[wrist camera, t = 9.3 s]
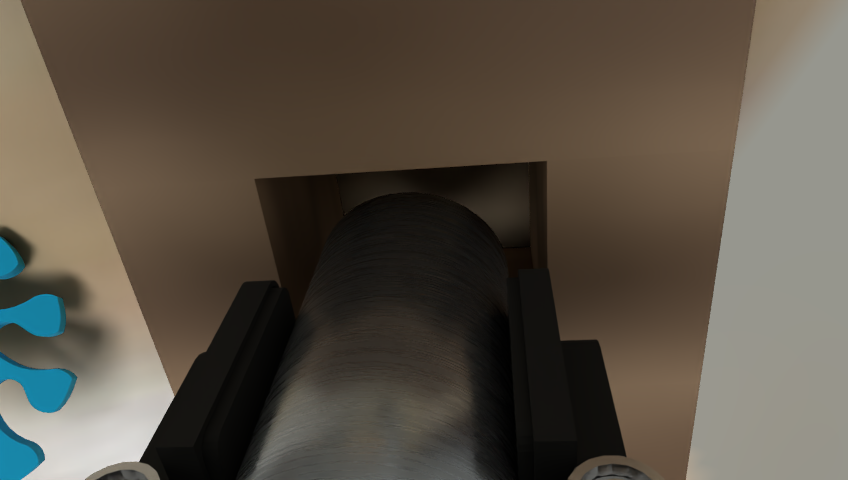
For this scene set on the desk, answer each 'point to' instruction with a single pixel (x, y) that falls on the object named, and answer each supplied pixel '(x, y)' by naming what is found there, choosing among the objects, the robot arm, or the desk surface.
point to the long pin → (396, 354)
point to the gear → (30, 369)
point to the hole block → (418, 154)
